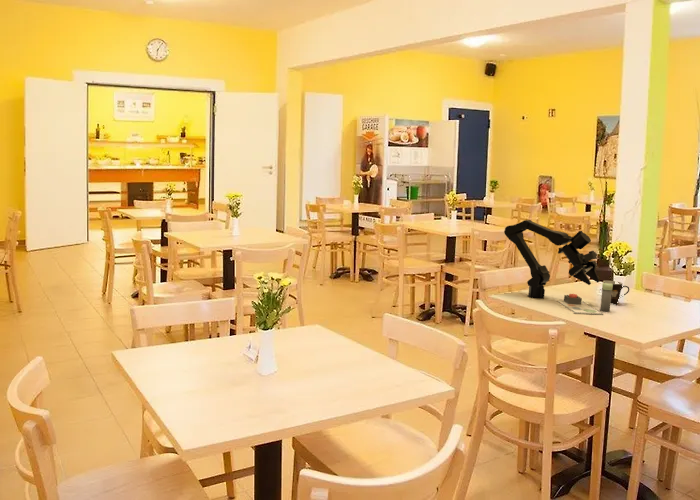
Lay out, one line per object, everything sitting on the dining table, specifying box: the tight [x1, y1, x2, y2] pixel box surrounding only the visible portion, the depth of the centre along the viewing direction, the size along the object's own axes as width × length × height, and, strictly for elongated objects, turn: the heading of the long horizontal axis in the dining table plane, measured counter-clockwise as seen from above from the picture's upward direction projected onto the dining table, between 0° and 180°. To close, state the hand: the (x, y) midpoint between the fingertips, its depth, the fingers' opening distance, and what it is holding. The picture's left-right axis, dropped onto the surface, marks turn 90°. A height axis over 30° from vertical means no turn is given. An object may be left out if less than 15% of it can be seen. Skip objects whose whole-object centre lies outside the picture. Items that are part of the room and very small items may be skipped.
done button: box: [568, 293, 578, 298], centre depth 331 cm, size 4×4×2 cm
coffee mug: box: [602, 280, 630, 305], centre depth 337 cm, size 12×9×10 cm
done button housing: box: [563, 294, 583, 304], centre depth 331 cm, size 6×6×3 cm
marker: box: [599, 282, 613, 313], centre depth 317 cm, size 4×4×13 cm
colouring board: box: [556, 300, 604, 316], centre depth 323 cm, size 13×23×1 cm, turn 4°
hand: (594, 283), depth 320 cm, fingers open, 9 cm apart
